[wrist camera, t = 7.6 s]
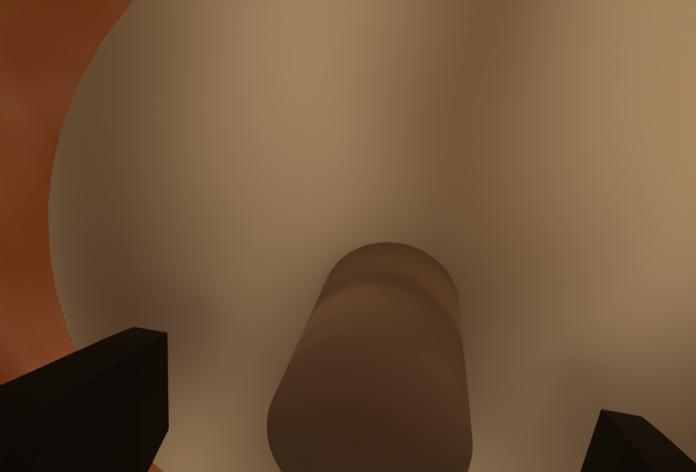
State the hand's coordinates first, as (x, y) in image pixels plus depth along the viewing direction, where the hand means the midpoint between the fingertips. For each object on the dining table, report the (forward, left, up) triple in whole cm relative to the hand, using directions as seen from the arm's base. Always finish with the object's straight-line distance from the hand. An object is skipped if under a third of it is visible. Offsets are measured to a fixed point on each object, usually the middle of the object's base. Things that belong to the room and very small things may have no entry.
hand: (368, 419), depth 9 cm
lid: (0, +1, -3) cm, 3 cm away
